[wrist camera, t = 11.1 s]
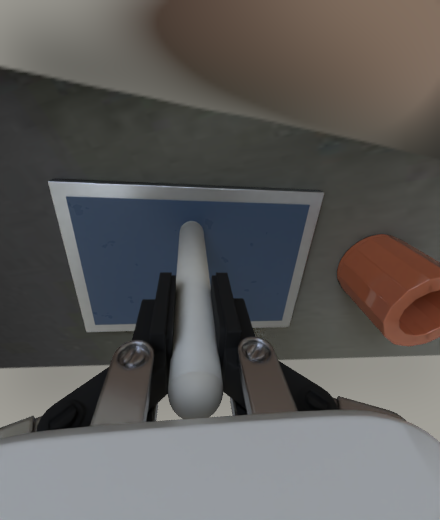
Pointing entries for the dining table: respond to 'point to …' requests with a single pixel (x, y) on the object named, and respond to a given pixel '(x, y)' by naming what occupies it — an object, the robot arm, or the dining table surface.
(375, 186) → the dining table surface
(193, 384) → the stylus
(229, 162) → the dining table surface
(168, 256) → the tablet
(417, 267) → the holder
